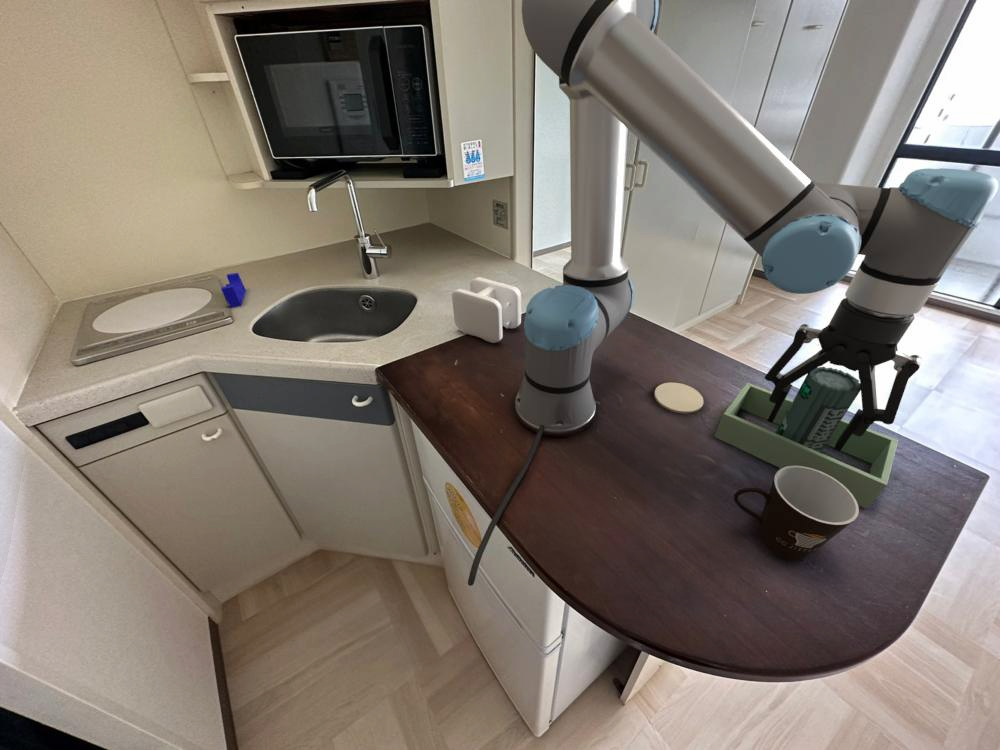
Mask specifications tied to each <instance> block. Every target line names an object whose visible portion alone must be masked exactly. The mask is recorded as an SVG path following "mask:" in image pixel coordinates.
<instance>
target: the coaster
mask: <svg viewBox="0 0 1000 750" xmlns="http://www.w3.org/2000/svg"><path fill="white" fill-rule="evenodd" d="M653 394H654V395H653V397H654V399H655V401H656V402H657V404H658V405H660V406H661V407H662V408H664V410H665V409H666V410H668V411H670V412H672V413H677V414H680V415H681V414H682V415H690V414H695V413H697V412H699V411H700V410H701V409H702V408H703V406H704V403H705V402H704V397H703V396H702V394H701V393H700V392H699V391H698V390H697V389H696V388H694V387H692V386H690V385H687V384H684V383H680V382H675V381H674V382H672V381H671V382H670V381H669V382H664V383H661V384H659V385H658V386H657V387H655V390H654V393H653Z"/></svg>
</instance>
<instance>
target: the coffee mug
mask: <svg viewBox="0 0 1000 750" xmlns="http://www.w3.org/2000/svg"><path fill="white" fill-rule="evenodd" d="M746 493H747V494H748V493H755V494H758V495H761V496H762V497H763V498H764V499H765V502H764V505H763V508H762V511H761V513H760V515H758V514H757V513H755V512H754V511H752V510H751V509H749V508H748V507H746V506H745V505H744V504H743V503H742V502H741V501H740V499H739V497H740V496H741V495H743V494H746ZM733 500H734V503H735V504H736V506H738V508H739V509H741V511H743V512H745V513H746V514H747V515H749V516H750V517H752V518H754V520H756V521H757V522H758V523H757V525H756V534H757V537H758V539H759V541H760V542H761V543H762V544H763V546H764V547H765V548H766V549H767V550H769V551H770V552H771V553H772V554H774V555H776V557H779V558H782V559H784V560H786V561H790V562H791V561H792V562H801V561H805V560H806V559H807V558H809V557H810V556H811V555H813V554H814V553H815V552H817V551H818V550H819V549H820V548H821V547H823V546H824V545H825V544H827V543H828V542H829V541H830V540H832V539H833V538H834V537H835V536H836V535H838V534H839V533H840V532H841V531H843V530H844V529H845V528H847V527H848V526H849V525H851V523H852V524H853V522H854V521H855V520H856V519H857V518H858V516H859V513H860V508H859V507H860V506H859V505H858V504H857V501H856V499H855V498H854V496H853V495H852V493H851V492H850V491H849V490H848V489H847V488H846V487H845V486H844V485H843V484H842V483H840V482H839V481H837V480H836V479H834V478H833V477H831V476H829V475H828V474H825V473H823V472H821V471H819V470H816V469H813V468H809V467H805V466H787V467H784V468H782V469H781V468H779V469H778V470H777V471H776V473H775V475H774V477H773V480H772V483H771V485H770V488H769V491H768V492H767V491H765V490H764V489H762V488H760V487H753V486H752V487H749V486H747V487H742V488H739V489H737V490H736V491H735V492H734V493H733Z"/></svg>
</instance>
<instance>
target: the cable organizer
mask: <svg viewBox="0 0 1000 750" xmlns="http://www.w3.org/2000/svg"><path fill="white" fill-rule="evenodd" d="M469 289H470V291H469V290H467V289H462V288H458V289H456V290H454V291H452V293H451V301H452V311H453V317H454V318H453V319H454V324H455V325H454V326H455V327H456V329H458V330H459V331H461V332H462V333H464V334H466V335H470V336H473V337H477V338H480V339H482V340H483V341H486V342H488V343H492V344H494V343H499V342H500V341H501V340H502V339H503V337H504V335H503V333H504V332H503V331H504V330H503V327H504V328H506V330H508V329H516V328H518V327H519V326H520V325H521V323H522V293H521V291H520V289H519V288H517V287H516V286H514V285H511V284H507V283H503V282H499V281H495V280H492V279H488V278H484V277H481V276H479V277H478V276H477V277H475V278H473V279H471V280H470V282H469Z"/></svg>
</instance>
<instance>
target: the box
mask: <svg viewBox="0 0 1000 750" xmlns="http://www.w3.org/2000/svg"><path fill="white" fill-rule="evenodd" d="M772 392H773V391H771V390H769V389H766V388H763V387H760V386H757V385H756V384H753V383H750V382H746V383H745V385H744V386H743V387H742V388H741V390H740V392H739V393H738V394H737V395H736V397H734V400H733V401H732V402H731V403H730V405H729V406H728V407H727V408H726V410H725V411H724V412H723V414H722V417H721V419H720V421H719V424H718V426H717V429H716V431H715V433H714V435H713V436H714V438H716V439H718V440H720V441H723V443H726V444H728V445H730V446H733V447H735V448H737V449H739V450H740V451H743V452H744V453H745V452H746V454H747V453H748V454H749V455H752V456H754V457H756V458H758V459H760V460H762V461H764V462H767V463H768V464H770V465H772V466H775V467H776V468H779V469H782V468H784V467H787V466H805V467H809V468H813V469H816V470H819V471H821V472H823V473H825V474H828V475H829V476H831V477H833V478H834V479H836V480H837V481H839V482H840V483H842V484H843V485H844V486H845V487H846V488H847V489H848V490H849V491H850V492H851V493H852V495H853V496H854V498H855V499H856V501H857V504H858V506H859V507H860V508H863V509H864V510H867V509H868V508H869V507H870V506H871V504H872V503H873V502H875V500H876V499H877V498H878V496H879V495H880V494H881V493H882V492H883V491H884V490H885V488H886V487H887V486H888V484H889V483H888V482H889V479H890V474H891V471H892V467H893V464H894V460H895V454H896V451H897V447H898V443H899V440H898V439H897V438H895V437H892V436H889V435H886V434H884V433H881V432H878V431H876V430H873V429H870V428H868V429H867V430H866V431H865V433H864V434H863V435H862V436H860V437H859V436H856V435H854V434H852V435H851V436H850V438H849V439H848V441H847V442H846V443H845V445H844V446H843V448H842V449H841V451H840V452H842V453H845V454H847V455H850V456H852V457H855V458H857V459H860V460H862V461H864V462H866V463H869V464H871V467H870V470H869V473H868V472H866V471H863V470H861V469H859V468H857V467H854V466H852V465H850V464H847V463H845V462H843V461H840V460H838V459H836V458H834V457H832V456H829V455H826V454H824V453H822V452H817V451H815V450H813V449H810V448H808V447H806V446H804V445H801V444H799V443H797V442H794V441H792V440H790V439H787V438H785V437H783V436H781V435H778V434H776V432H775V431H771V430H769V429H766V428H765V427H762V426H761V425H757V424H755V423H753V422H751V421H748V420H746V419H743V418H741V417H739V416H737V414H738V413H739V412H740V411H741V410H743V411H744V412H745V411H746V412H748V413H750V414H753V415H755V416H756V417H757V416H758V417H759V418H761V419H765V420H766V421H767V420H768V418H769V416H770V414H771V412H772V410H773V408H774V406H775V403H772V402H770V401H769V398H770V396H771V394H772ZM793 400H794V399H792V398H789V397H786V399H785V401H784V402H783V404H782V406H781V408H780V410H779V412H778V414H777V416H776V417H775V419H774V421H773V422H772V423H773V424H777V425H779V426H780V425H781V423H782V421H783V419H784V417H785V415H786V413H787V412H788V410H789V408H790V406H791V404H792V402H793ZM850 421H851V420H847V419H845V418H842V420H841V421H840V423H839V424H838V426H837V427H836V429H835V430H834V432H833V433H832V435H831V436H830V438H829V439H828V441H827V442H826V444H825V445H826V446H829V447H831V448H833V449H834V448H835V445H836V443H837V440H838V439H839V437H840V436H841V434H842V433H843V431H844V430H845V428H846V427H847V425H848V424H849V422H850Z"/></svg>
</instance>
